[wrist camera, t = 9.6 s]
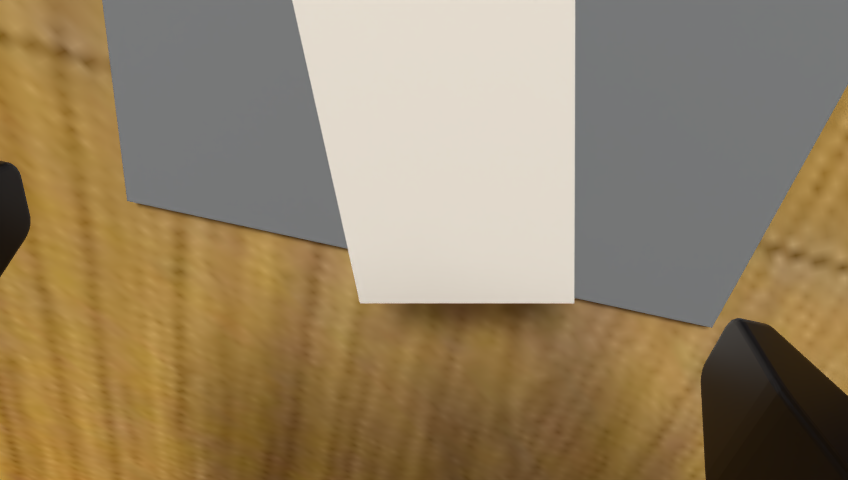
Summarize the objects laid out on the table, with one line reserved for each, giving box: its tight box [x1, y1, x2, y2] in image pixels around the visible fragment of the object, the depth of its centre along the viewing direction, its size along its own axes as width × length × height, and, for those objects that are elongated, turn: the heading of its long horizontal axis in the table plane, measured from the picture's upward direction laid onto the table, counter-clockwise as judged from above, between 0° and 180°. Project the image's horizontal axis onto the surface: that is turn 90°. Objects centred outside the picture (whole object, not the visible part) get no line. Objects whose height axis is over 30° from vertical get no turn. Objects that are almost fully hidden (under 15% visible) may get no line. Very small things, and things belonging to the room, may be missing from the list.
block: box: [292, 0, 575, 303], centre depth 14 cm, size 10×5×4 cm, turn 7°
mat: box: [102, 0, 848, 328], centre depth 16 cm, size 18×14×1 cm
